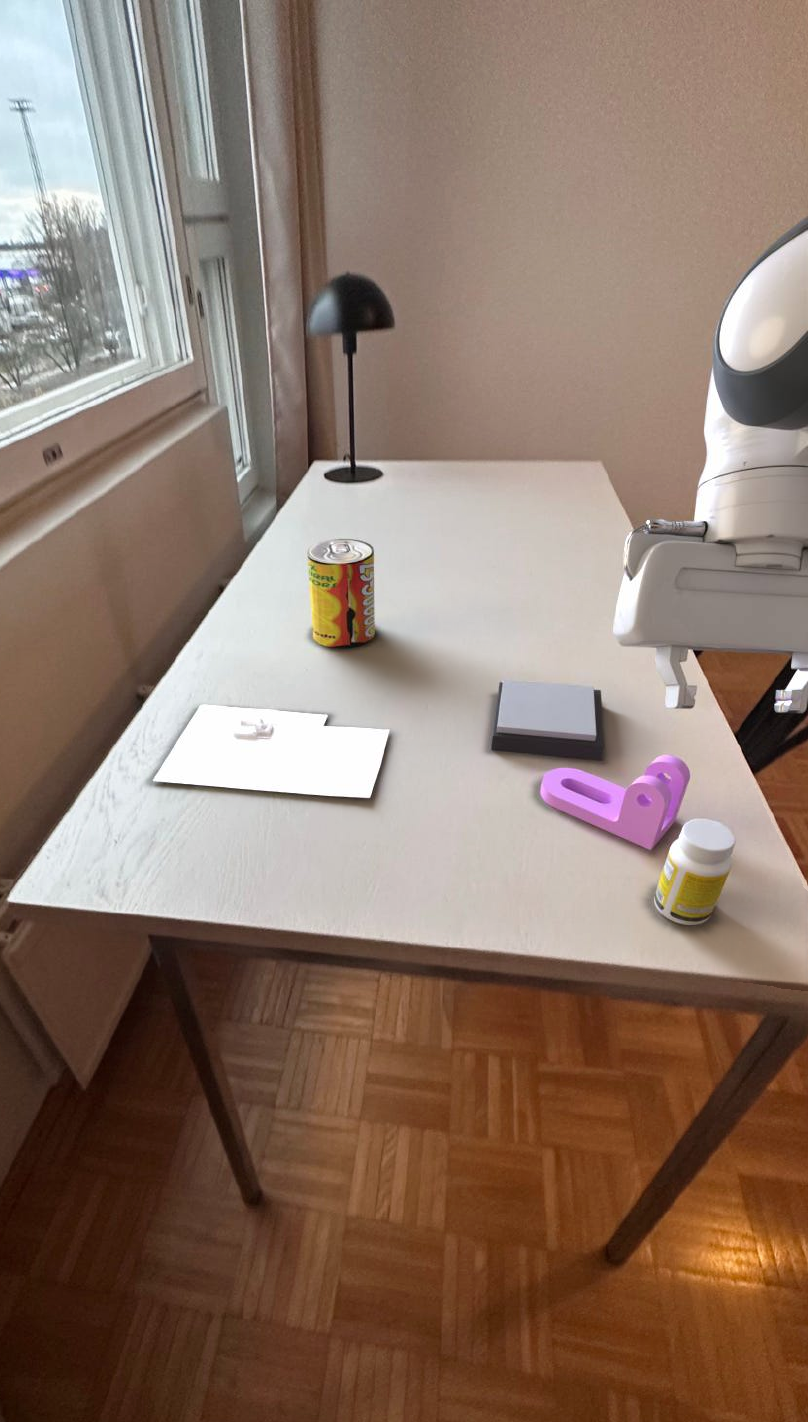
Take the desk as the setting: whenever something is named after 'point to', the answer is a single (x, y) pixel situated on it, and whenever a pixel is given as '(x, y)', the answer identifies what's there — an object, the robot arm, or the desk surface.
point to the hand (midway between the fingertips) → (734, 710)
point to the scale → (549, 720)
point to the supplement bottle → (695, 872)
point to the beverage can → (342, 592)
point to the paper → (275, 753)
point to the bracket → (622, 799)
